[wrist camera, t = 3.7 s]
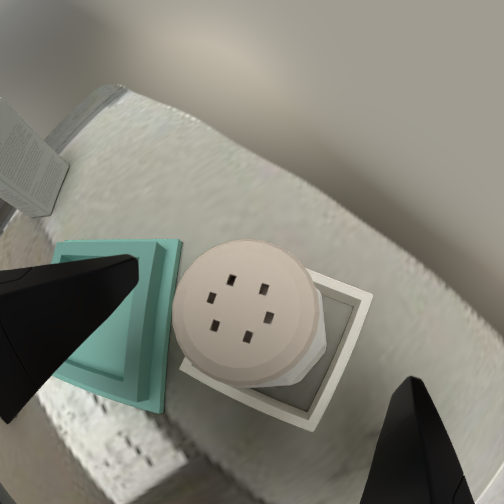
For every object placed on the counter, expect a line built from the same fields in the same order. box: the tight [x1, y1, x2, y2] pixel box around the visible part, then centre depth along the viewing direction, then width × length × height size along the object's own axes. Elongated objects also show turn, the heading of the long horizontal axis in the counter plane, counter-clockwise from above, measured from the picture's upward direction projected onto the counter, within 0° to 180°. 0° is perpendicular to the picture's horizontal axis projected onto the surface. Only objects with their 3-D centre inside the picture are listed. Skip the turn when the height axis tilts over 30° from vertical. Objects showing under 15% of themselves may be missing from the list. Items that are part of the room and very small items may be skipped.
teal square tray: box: [52, 239, 182, 414], centre depth 16 cm, size 11×11×2 cm
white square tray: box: [179, 268, 373, 432], centre depth 14 cm, size 8×8×2 cm
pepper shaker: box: [172, 239, 327, 388], centre depth 10 cm, size 5×5×11 cm
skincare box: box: [0, 97, 69, 218], centre depth 17 cm, size 6×4×12 cm
